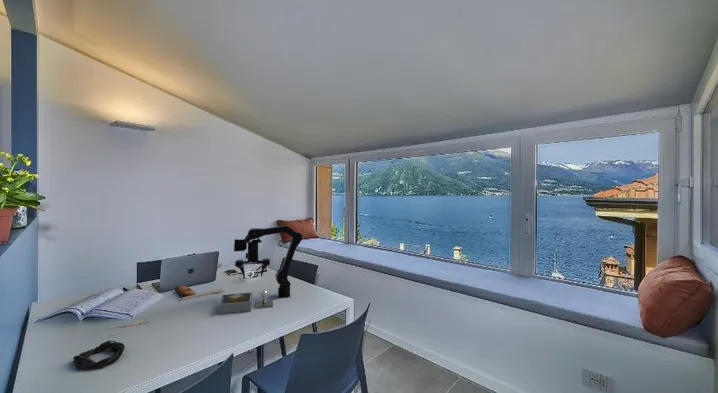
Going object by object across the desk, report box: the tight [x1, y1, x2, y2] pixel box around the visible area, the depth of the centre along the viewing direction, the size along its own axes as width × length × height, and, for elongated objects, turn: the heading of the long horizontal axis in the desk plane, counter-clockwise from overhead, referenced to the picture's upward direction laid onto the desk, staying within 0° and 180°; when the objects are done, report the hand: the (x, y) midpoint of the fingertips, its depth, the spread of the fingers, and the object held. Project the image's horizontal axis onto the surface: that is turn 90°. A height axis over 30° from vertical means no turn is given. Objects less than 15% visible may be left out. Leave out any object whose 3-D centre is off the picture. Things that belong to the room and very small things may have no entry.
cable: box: [73, 340, 126, 370], centre depth 110 cm, size 17×14×4 cm
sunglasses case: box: [174, 285, 198, 298], centre depth 182 cm, size 18×7×7 cm
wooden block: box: [229, 293, 244, 303], centre depth 161 cm, size 5×5×6 cm
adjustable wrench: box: [178, 288, 226, 302], centre depth 179 cm, size 25×6×2 cm, turn 130°
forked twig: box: [105, 318, 150, 336], centre depth 136 cm, size 10×2×15 cm
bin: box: [217, 292, 253, 316], centre depth 161 cm, size 16×16×5 cm
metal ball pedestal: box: [255, 289, 274, 309], centre depth 165 cm, size 9×9×8 cm
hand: (252, 277), depth 173 cm, fingers open, 9 cm apart
